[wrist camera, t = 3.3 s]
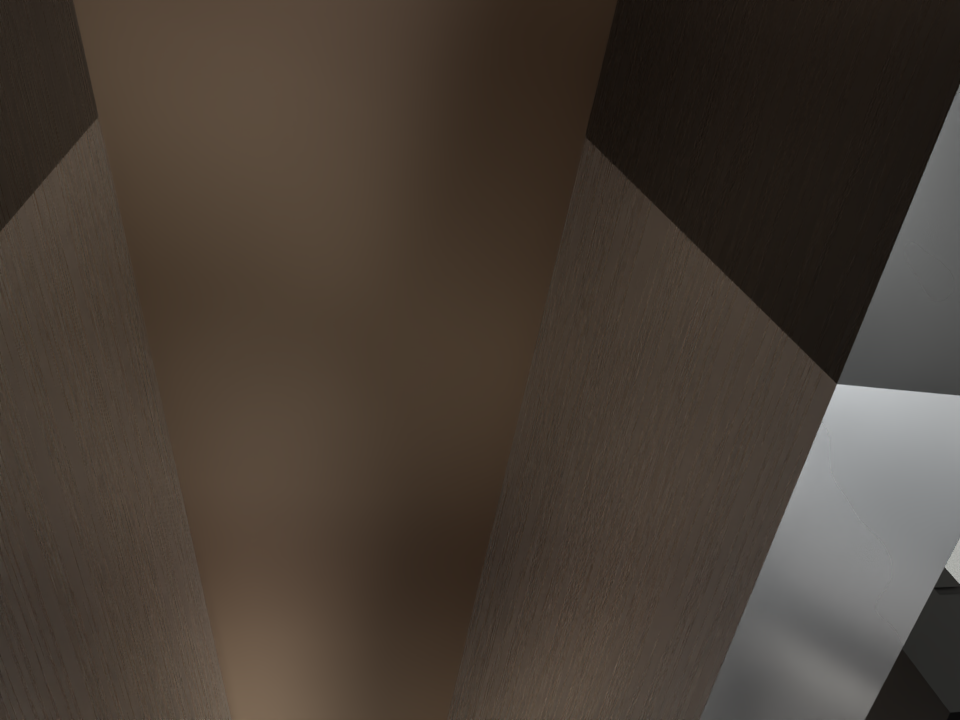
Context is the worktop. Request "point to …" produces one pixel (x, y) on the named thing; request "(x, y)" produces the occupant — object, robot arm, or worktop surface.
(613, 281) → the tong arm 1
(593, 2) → the tong rest
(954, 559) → the worktop surface
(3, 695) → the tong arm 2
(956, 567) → the worktop surface
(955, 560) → the worktop surface
